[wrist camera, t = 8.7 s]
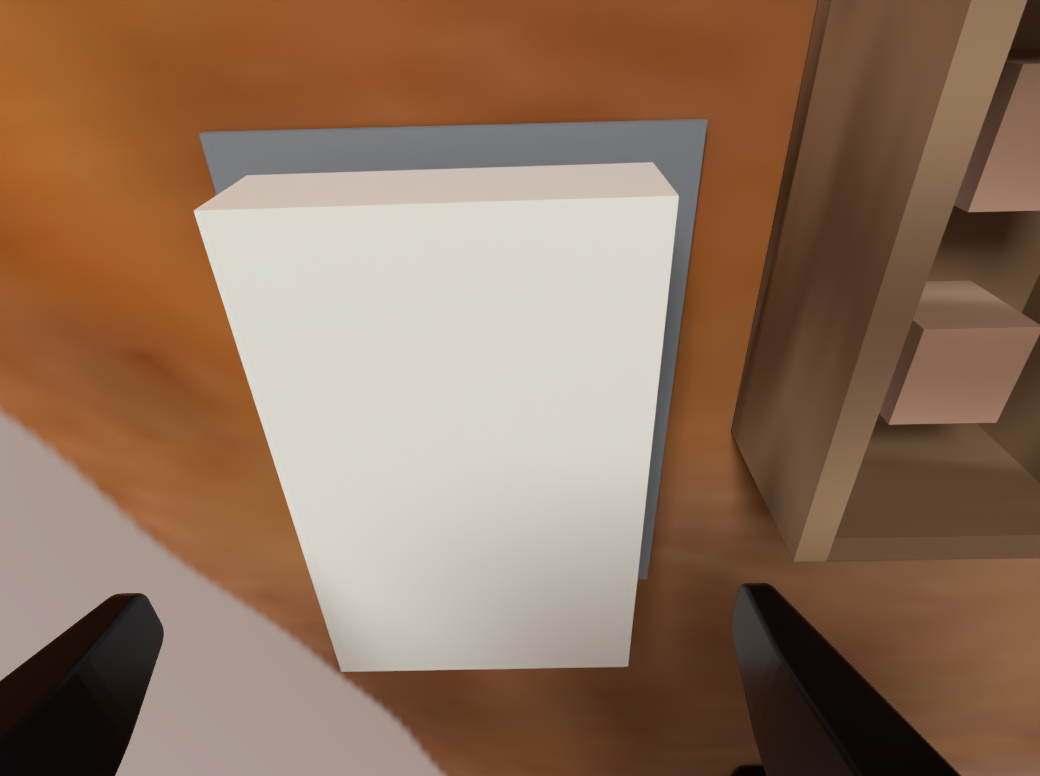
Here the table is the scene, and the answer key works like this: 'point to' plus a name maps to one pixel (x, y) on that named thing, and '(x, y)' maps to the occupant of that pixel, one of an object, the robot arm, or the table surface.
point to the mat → (500, 146)
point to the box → (904, 290)
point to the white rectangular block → (457, 398)
